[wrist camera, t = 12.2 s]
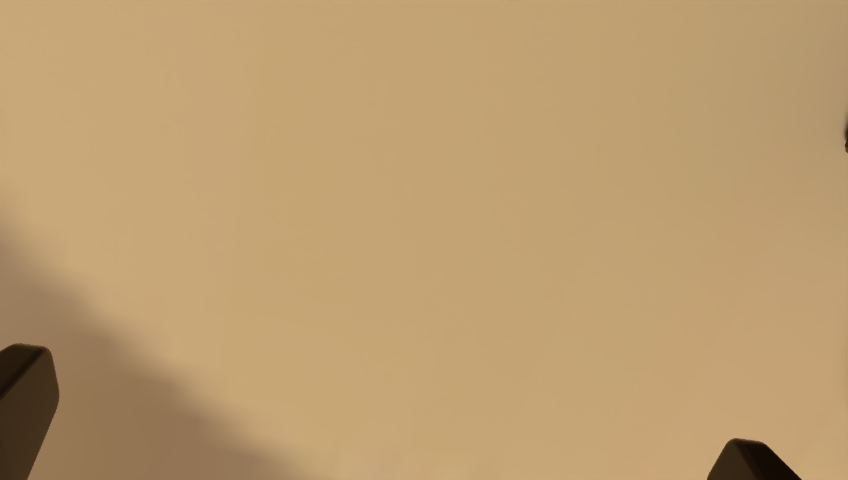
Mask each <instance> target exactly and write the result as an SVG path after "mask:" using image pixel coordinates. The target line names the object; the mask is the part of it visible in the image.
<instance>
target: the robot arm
mask: <svg viewBox="0 0 848 480" xmlns="http://www.w3.org/2000/svg"><path fill="white" fill-rule="evenodd" d="M845 148H846V152H847V153H848V139H847V141H846V144H845ZM58 402H59V387H58V382H57V377H56V372H55V367H54V363H53V357H52V354H51V352H50V350H49V349H48V348H46V347H44V346H37V345H30V344H22V343H17V344H13V345H10V346H8V347H6V348H5V349H3V350H1V351H0V480H27V479H28V477H29V474H30V472H31V470H32V467H33V465H34V462H35V460H36V458H37V455H38V453H39V450H40V448H41V446H42V443H43V441H44V438H45V436H46V433H47V431H48V429H49V426H50V424H51V422H52V419H53V416H54V414H55V412H56V409H57V406H58ZM707 480H802V479H801V478H800V477H799V476H798V475H797V474H796V473H795V472H794V471H792V470H791V469H790V468H789V467H788V466H787V465H786V464H785V463H784V462H783V461H782V460H781V459H780V458H779V457H778V456H777V455H776V454H775V453H774V452H773V451H772V450H771V449H770V448H769V447H768V446H767V445H766V444H764V443H762V442H759V441H754V440H746V439H739V438H734V439H731V440H730V441H728V442H727V444H726V445H725V447H724V449H723V450H722V452H721V454H720V456H719V457H718V459H717V461H716V463H715V464H714V466H713V468H712V469H711V471H710V473H709V475H708V478H707Z"/></svg>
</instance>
